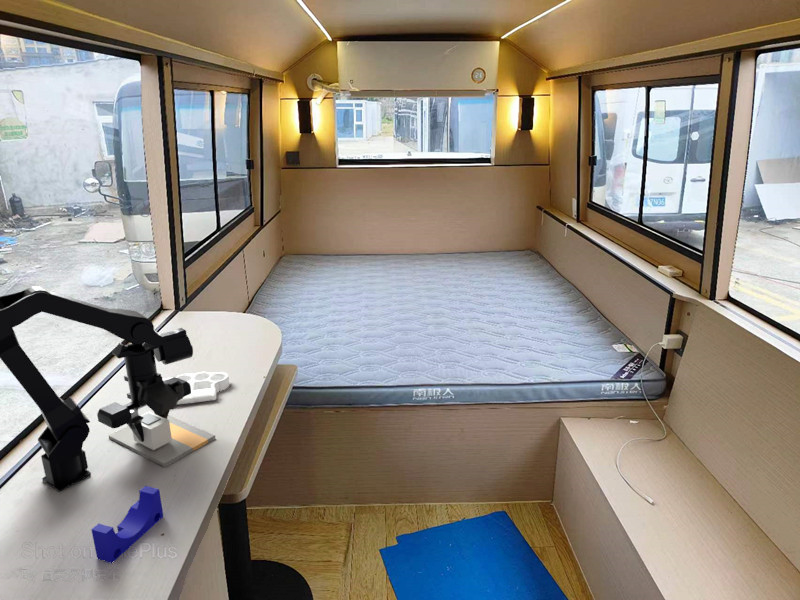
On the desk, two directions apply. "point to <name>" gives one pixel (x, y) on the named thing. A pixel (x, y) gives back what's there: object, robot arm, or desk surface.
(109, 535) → the blue cradle bracket
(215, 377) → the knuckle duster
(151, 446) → the white block
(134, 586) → the desk surface
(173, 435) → the grey flat board
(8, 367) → the robot arm
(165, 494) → the desk surface
